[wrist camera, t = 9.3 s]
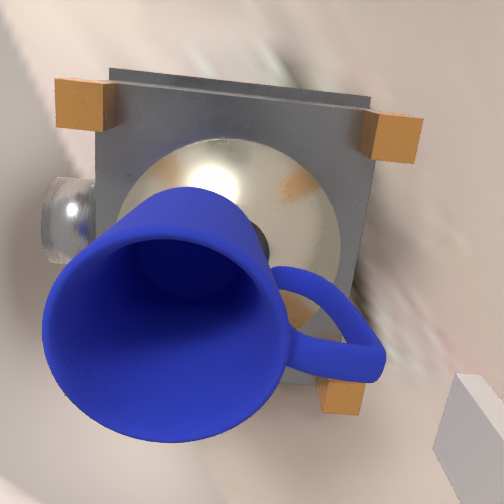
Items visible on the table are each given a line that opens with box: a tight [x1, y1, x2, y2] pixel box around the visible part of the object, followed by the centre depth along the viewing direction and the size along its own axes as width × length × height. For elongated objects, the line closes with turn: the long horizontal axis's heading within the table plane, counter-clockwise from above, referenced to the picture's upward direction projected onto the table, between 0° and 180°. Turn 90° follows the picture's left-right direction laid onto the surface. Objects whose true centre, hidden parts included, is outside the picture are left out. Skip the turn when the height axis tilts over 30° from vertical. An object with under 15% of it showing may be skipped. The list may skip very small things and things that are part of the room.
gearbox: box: [41, 68, 423, 415], centre depth 27 cm, size 17×18×8 cm
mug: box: [42, 187, 386, 443], centre depth 21 cm, size 8×12×10 cm
